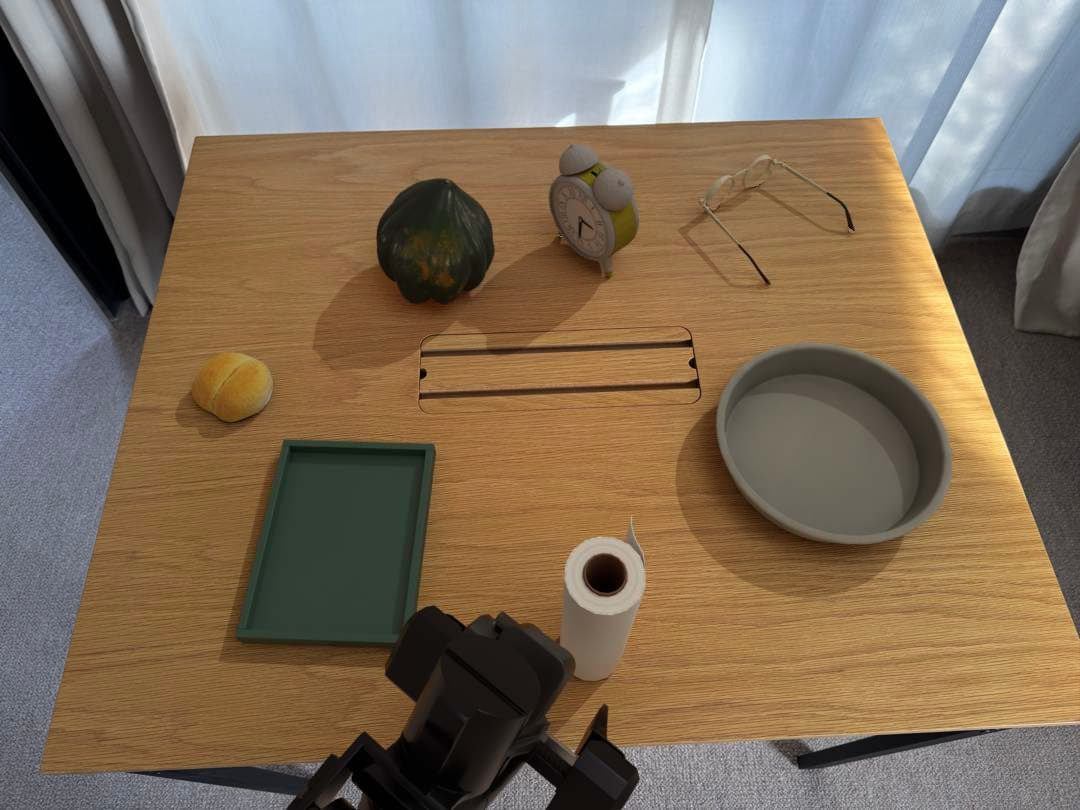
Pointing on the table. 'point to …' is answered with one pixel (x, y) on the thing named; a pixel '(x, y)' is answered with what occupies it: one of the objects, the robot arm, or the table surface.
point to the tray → (340, 545)
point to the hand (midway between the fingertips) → (555, 671)
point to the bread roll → (232, 386)
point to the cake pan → (833, 444)
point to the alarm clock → (593, 205)
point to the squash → (435, 242)
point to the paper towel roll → (601, 602)
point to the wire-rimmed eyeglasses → (768, 171)
